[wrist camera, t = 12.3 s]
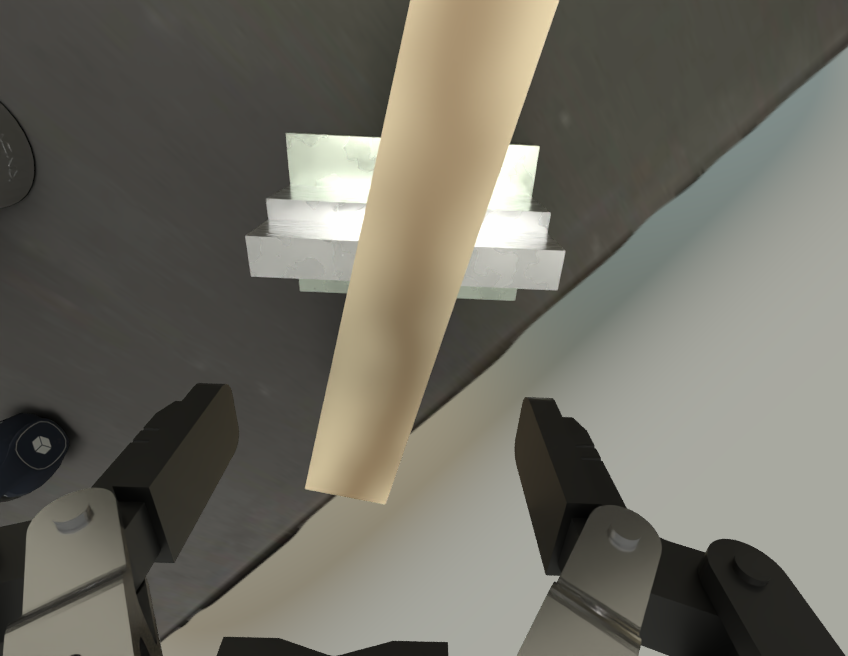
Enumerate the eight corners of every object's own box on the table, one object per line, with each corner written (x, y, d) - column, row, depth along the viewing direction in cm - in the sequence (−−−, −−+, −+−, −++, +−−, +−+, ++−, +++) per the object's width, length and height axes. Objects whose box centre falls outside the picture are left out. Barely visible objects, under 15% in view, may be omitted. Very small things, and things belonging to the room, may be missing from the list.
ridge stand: (304, 284, 37) (261, 348, 27) (291, 131, 31) (231, 142, 22) (511, 293, 37) (543, 359, 27) (534, 144, 32) (584, 160, 22)
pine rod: (322, 432, 30) (304, 488, 26) (433, -67, 18) (437, -124, 13) (391, 447, 31) (385, 504, 26) (544, -25, 19) (582, -67, 14)
